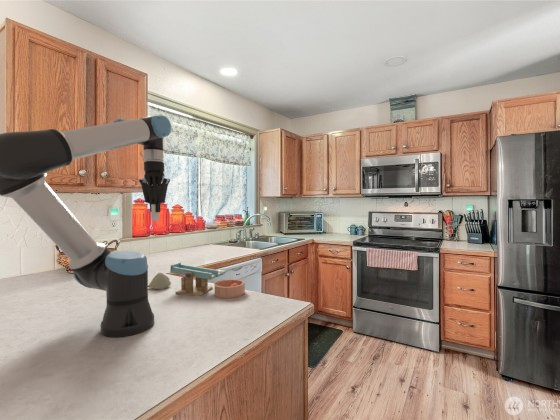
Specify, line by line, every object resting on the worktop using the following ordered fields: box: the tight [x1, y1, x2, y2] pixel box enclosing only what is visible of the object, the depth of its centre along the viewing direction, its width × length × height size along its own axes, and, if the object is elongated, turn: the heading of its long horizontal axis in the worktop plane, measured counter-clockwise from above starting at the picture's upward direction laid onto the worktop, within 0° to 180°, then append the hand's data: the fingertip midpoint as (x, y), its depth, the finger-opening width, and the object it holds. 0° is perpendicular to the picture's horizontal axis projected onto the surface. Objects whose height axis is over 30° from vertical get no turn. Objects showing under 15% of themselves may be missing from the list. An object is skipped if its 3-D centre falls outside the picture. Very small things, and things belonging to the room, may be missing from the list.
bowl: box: [213, 278, 246, 299], centre depth 126 cm, size 13×13×4 cm
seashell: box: [148, 272, 172, 290], centre depth 137 cm, size 8×8×8 cm
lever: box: [169, 261, 227, 281], centre depth 133 cm, size 14×20×3 cm
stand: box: [175, 272, 214, 297], centre depth 130 cm, size 11×12×9 cm
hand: (155, 220), depth 117 cm, fingers closed
